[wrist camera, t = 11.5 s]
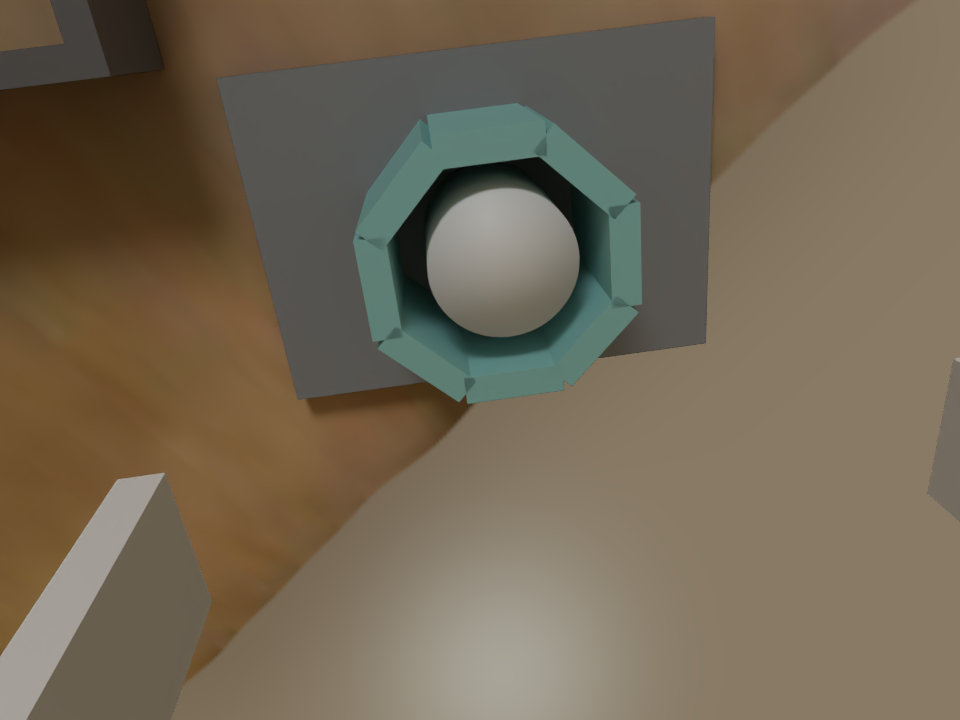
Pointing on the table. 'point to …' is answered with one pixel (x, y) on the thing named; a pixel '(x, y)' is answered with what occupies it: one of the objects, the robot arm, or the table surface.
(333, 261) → the stand
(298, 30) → the table surface
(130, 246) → the table surface
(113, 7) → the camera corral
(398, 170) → the collar
